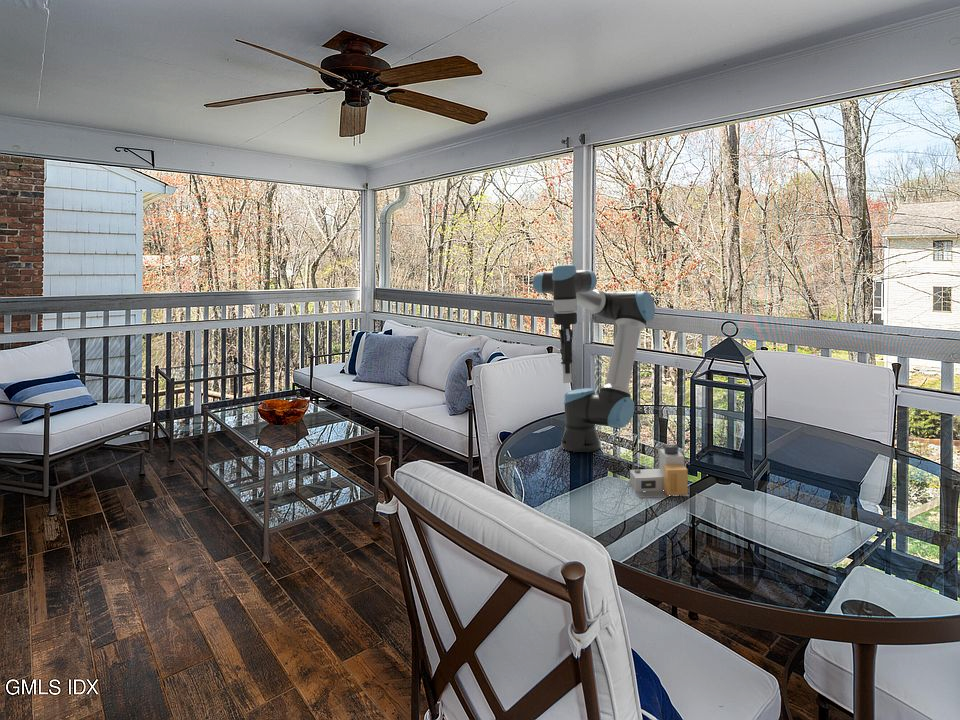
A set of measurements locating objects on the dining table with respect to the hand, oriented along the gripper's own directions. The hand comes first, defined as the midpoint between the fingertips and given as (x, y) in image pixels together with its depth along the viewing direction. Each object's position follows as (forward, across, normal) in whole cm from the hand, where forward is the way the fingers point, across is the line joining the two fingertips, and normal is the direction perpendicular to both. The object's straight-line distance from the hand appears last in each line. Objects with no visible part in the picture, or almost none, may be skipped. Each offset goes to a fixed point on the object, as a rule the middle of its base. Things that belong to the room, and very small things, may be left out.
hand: (567, 382), depth 191 cm
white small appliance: (+32, +16, +26) cm, 44 cm away
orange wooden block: (+32, +20, +30) cm, 48 cm away
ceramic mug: (+33, -2, +34) cm, 48 cm away
